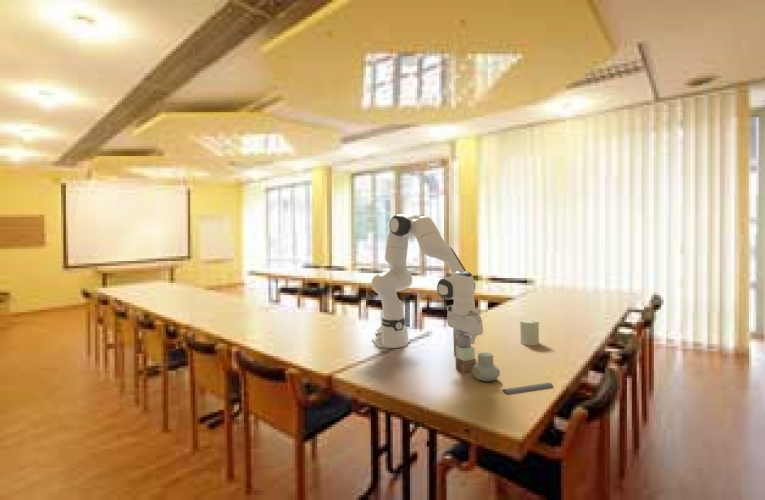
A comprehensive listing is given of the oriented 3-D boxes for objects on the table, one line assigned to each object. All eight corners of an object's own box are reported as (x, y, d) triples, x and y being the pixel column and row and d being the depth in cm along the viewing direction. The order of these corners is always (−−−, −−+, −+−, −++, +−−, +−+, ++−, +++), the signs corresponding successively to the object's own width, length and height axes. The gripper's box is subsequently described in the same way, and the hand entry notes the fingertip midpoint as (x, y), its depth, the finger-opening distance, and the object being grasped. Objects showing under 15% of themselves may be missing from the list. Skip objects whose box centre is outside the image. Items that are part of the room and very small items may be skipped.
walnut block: (455, 368, 178) (455, 357, 177) (467, 366, 180) (466, 355, 180) (464, 372, 172) (464, 361, 172) (475, 370, 175) (475, 358, 175)
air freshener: (502, 382, 161) (502, 357, 160) (483, 385, 158) (483, 359, 158) (487, 373, 171) (487, 349, 171) (470, 375, 169) (469, 351, 168)
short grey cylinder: (456, 346, 177) (456, 334, 177) (465, 344, 179) (465, 332, 179) (464, 349, 173) (463, 337, 172) (473, 346, 175) (472, 335, 175)
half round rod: (554, 389, 153) (554, 384, 153) (507, 396, 149) (507, 391, 148) (547, 385, 157) (547, 380, 157) (501, 392, 153) (501, 387, 153)
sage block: (456, 357, 177) (456, 346, 177) (466, 355, 180) (466, 344, 179) (464, 361, 172) (463, 349, 172) (474, 358, 175) (474, 347, 174)
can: (533, 346, 205) (533, 322, 205) (516, 343, 212) (516, 320, 212) (542, 342, 212) (542, 319, 211) (526, 339, 218) (525, 317, 218)
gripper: (486, 312, 167) (487, 345, 168) (456, 304, 185) (456, 334, 186) (474, 314, 164) (474, 348, 165) (444, 306, 183) (445, 336, 183)
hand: (464, 341), depth 176 cm, fingers open, 8 cm apart
